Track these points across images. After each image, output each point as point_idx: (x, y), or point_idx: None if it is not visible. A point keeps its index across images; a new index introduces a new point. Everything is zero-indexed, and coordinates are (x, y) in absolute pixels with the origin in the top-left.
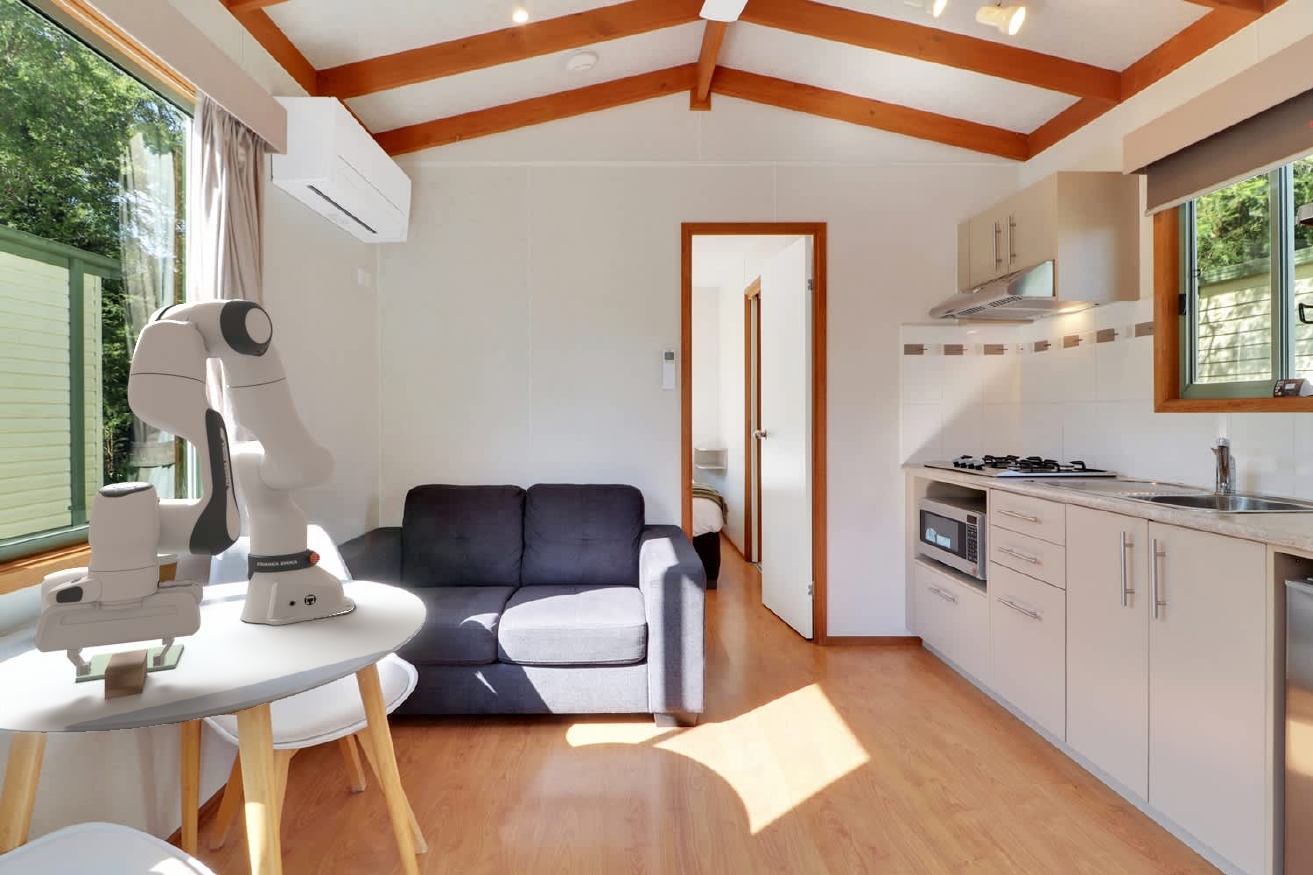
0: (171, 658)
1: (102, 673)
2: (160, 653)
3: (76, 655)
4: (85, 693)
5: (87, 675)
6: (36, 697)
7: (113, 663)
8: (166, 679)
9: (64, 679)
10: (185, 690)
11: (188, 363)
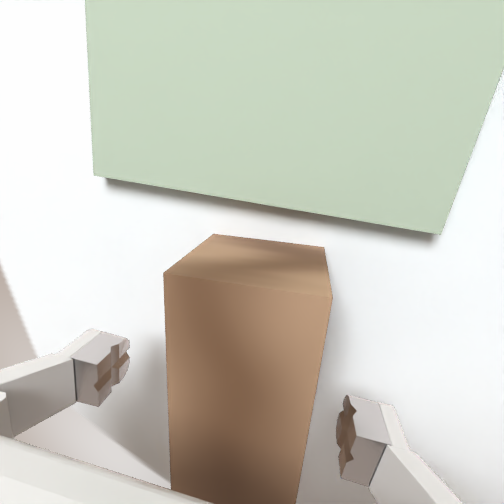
0: (453, 111)
1: (170, 173)
2: (380, 456)
3: (10, 415)
4: (156, 318)
5: (124, 163)
6: (43, 263)
7: (187, 423)
8: (375, 353)
9: (60, 108)
10: None
11: None
